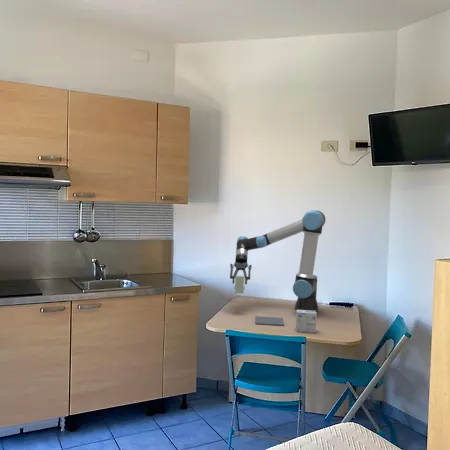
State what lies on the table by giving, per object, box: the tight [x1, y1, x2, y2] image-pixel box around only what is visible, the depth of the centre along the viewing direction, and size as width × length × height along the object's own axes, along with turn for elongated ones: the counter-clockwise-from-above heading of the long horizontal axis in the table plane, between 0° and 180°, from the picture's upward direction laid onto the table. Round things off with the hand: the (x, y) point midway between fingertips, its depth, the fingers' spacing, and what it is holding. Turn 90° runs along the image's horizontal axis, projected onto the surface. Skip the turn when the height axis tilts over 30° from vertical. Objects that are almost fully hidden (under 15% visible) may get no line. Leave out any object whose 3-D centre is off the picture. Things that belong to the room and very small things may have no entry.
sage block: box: [234, 274, 245, 294], centre depth 283 cm, size 5×5×10 cm
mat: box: [254, 315, 285, 327], centre depth 267 cm, size 16×16×1 cm
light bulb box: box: [295, 310, 318, 334], centre depth 250 cm, size 11×7×11 cm, turn 84°
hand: (239, 287), depth 280 cm, fingers closed on sage block, 5 cm apart
